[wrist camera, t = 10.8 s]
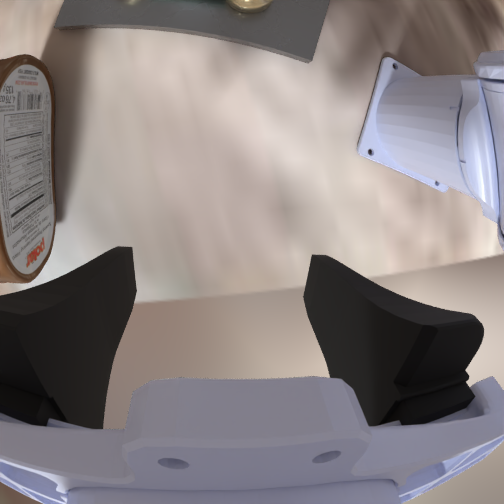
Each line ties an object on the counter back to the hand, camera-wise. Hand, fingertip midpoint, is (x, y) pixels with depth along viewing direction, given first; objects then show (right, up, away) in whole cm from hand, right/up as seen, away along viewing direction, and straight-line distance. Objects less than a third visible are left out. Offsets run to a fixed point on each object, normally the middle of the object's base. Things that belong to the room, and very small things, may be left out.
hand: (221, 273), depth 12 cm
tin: (-14, +8, +6) cm, 17 cm away
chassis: (-2, +20, 0) cm, 20 cm away
